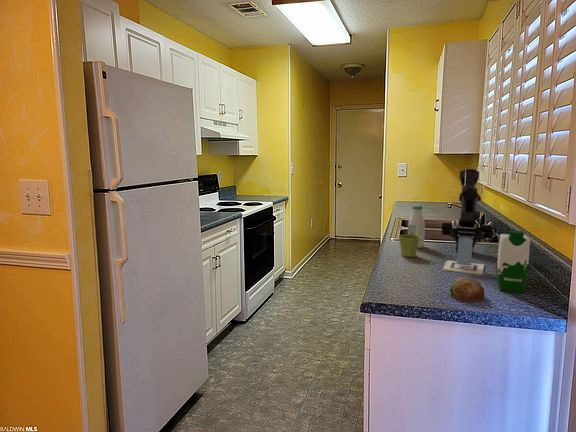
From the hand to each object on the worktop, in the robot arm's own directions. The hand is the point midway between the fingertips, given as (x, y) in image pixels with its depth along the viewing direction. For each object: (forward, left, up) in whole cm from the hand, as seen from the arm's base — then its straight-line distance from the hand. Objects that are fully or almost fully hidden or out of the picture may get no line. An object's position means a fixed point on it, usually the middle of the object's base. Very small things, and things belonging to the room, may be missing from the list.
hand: (465, 247), depth 161 cm
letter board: (0, -1, -8) cm, 9 cm away
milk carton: (-16, +19, -9) cm, 26 cm away
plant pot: (+23, -11, -9) cm, 27 cm away
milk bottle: (+24, -31, -9) cm, 40 cm away
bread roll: (-4, +33, -9) cm, 34 cm away
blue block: (0, -1, -7) cm, 7 cm away
